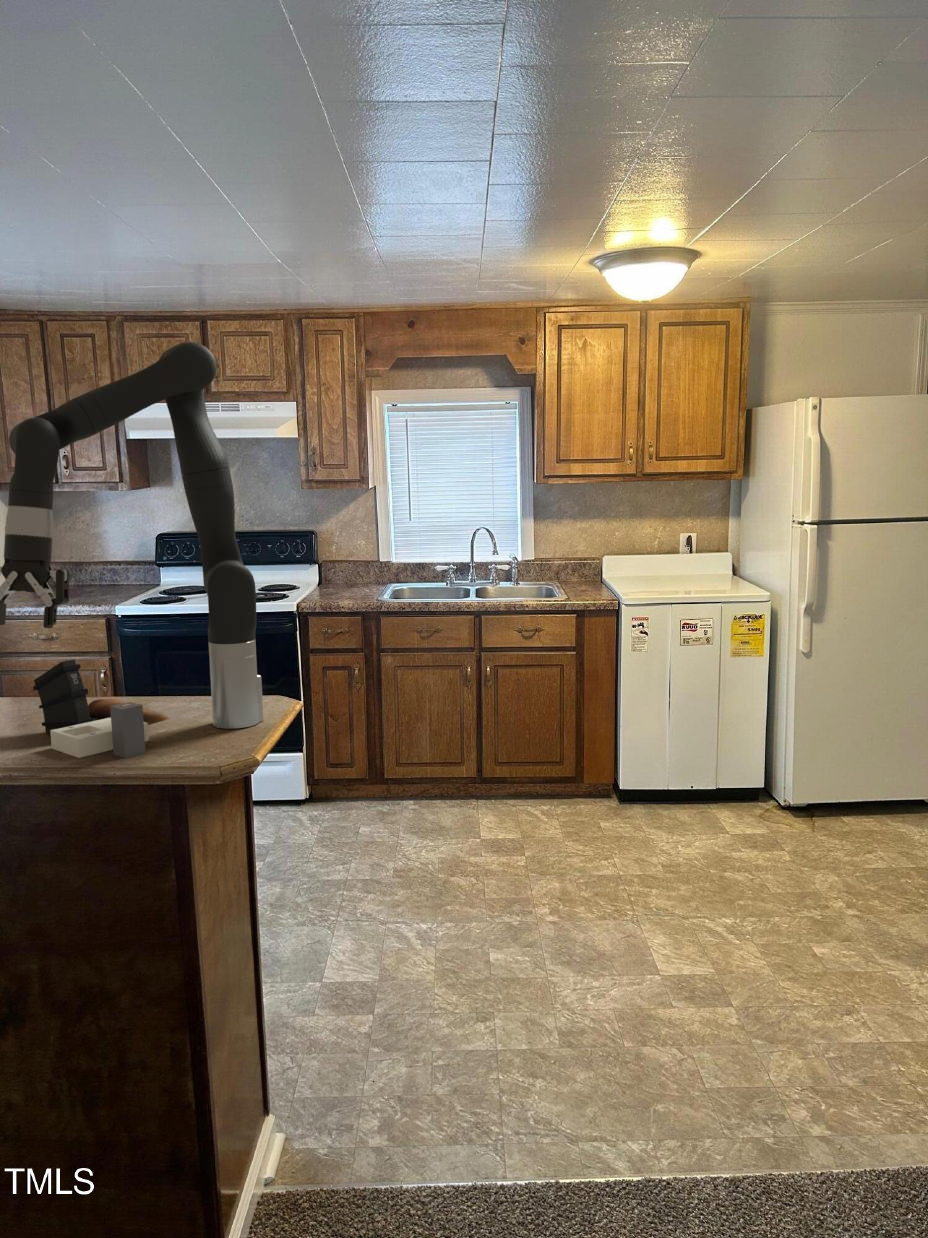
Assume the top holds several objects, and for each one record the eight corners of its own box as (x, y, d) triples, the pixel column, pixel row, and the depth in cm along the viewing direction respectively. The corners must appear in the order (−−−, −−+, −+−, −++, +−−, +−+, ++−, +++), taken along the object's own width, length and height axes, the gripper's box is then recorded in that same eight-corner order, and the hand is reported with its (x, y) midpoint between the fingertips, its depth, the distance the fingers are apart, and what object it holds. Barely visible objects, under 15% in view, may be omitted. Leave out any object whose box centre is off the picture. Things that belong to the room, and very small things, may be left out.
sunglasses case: (174, 717, 190) (159, 694, 186) (151, 741, 185) (135, 717, 182) (119, 708, 199) (104, 685, 196) (96, 730, 195) (80, 707, 191)
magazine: (87, 734, 171) (60, 661, 173) (51, 754, 179) (26, 684, 180) (104, 730, 175) (77, 658, 176) (68, 750, 182) (43, 681, 183)
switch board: (121, 732, 179) (119, 714, 178) (149, 740, 173) (147, 722, 172) (51, 748, 168) (50, 729, 168) (78, 758, 162) (77, 738, 161)
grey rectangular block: (133, 749, 167) (130, 701, 166) (145, 753, 164) (142, 704, 163) (113, 754, 164) (110, 705, 163) (125, 758, 161) (121, 708, 160)
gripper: (78, 538, 162) (73, 628, 162) (0, 532, 162) (-5, 622, 162) (59, 535, 154) (54, 630, 155) (-24, 529, 154) (-29, 624, 155)
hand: (24, 626), depth 158 cm, fingers open, 8 cm apart
